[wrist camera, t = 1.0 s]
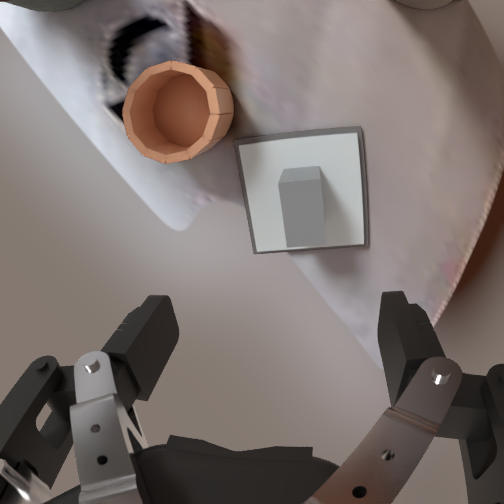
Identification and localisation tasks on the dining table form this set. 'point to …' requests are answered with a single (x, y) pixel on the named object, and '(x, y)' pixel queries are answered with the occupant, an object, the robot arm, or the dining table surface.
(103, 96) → the dining table surface
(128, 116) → the bowl
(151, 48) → the dining table surface
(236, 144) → the mat
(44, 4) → the bottle
